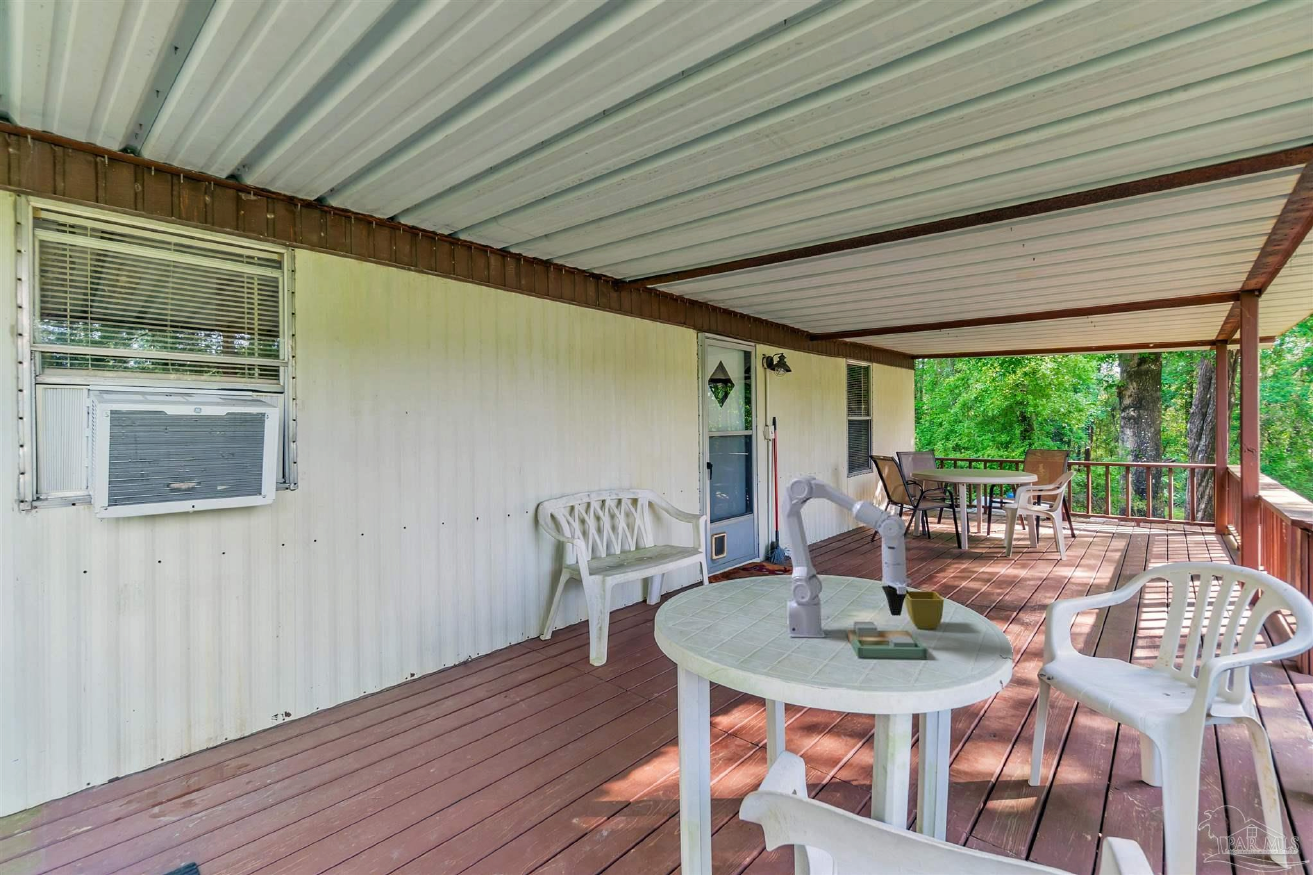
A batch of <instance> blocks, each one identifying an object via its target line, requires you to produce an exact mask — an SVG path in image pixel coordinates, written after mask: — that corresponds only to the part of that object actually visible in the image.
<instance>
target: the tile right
mask: <svg viewBox="0 0 1313 875" xmlns="http://www.w3.org/2000/svg"><path fill="white" fill-rule="evenodd" d="M889 646H890V647H911V648H915V642H914V641H913V640H912V639H911V638H910V637H909V636H889Z"/></svg>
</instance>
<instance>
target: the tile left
mask: <svg viewBox="0 0 1313 875" xmlns="http://www.w3.org/2000/svg"><path fill="white" fill-rule="evenodd" d="M853 630H854V631H855V633H856V635H857V636H858V637H878V636H877V631H878V626H876V624H875V623H874V621H853Z"/></svg>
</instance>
